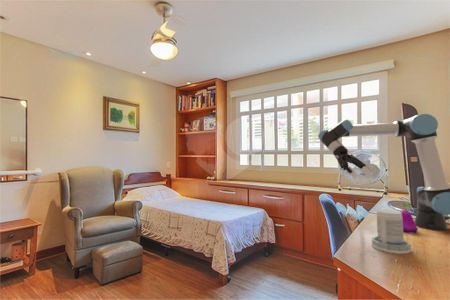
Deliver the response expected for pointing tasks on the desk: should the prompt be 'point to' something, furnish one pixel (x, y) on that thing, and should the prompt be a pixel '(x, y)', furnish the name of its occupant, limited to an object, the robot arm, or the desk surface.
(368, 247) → the desk surface
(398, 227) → the supplement tub
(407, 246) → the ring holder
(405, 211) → the magenta faceted rounded piece
